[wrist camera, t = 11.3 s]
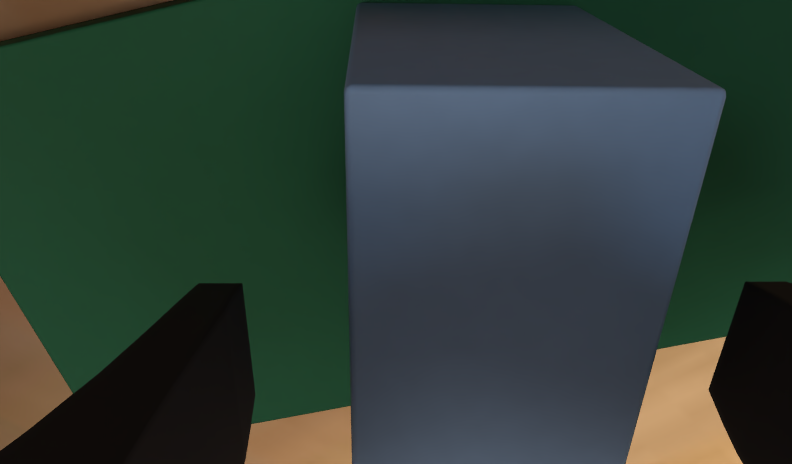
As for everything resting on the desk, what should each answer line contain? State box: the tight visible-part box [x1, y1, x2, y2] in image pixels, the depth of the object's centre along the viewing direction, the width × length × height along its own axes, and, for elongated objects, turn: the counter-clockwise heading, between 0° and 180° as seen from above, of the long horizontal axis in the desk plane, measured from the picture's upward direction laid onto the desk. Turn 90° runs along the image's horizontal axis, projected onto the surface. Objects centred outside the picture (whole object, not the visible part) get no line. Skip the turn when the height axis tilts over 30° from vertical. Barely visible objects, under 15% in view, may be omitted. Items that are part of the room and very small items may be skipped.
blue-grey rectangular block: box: [344, 3, 726, 464], centre depth 11 cm, size 4×8×6 cm, turn 179°
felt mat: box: [0, 0, 792, 424], centre depth 14 cm, size 20×10×1 cm, turn 102°
